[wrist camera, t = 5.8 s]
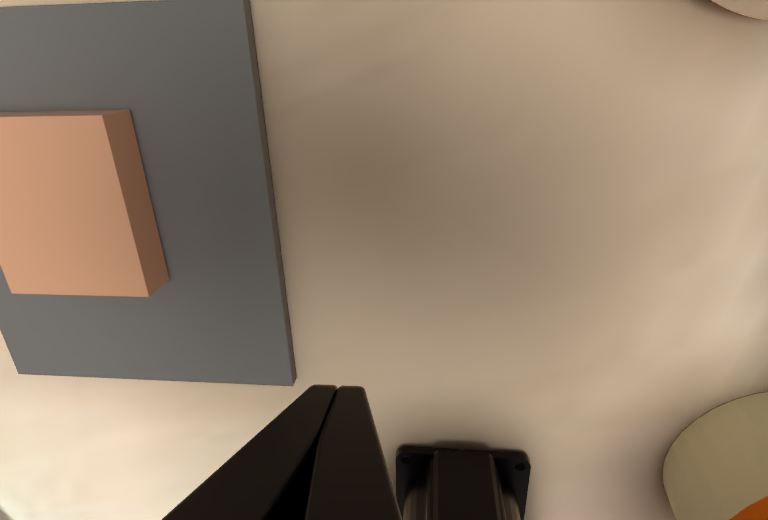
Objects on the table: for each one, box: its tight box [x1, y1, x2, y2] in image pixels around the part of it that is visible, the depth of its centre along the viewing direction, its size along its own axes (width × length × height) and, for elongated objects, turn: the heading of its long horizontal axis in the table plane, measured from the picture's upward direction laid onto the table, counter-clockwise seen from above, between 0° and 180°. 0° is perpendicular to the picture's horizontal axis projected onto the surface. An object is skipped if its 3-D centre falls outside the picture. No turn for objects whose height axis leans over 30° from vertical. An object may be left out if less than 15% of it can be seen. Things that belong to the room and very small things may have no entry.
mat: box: [0, 0, 296, 386], centre depth 20 cm, size 16×14×1 cm
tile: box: [0, 110, 169, 297], centre depth 19 cm, size 7×2×6 cm
